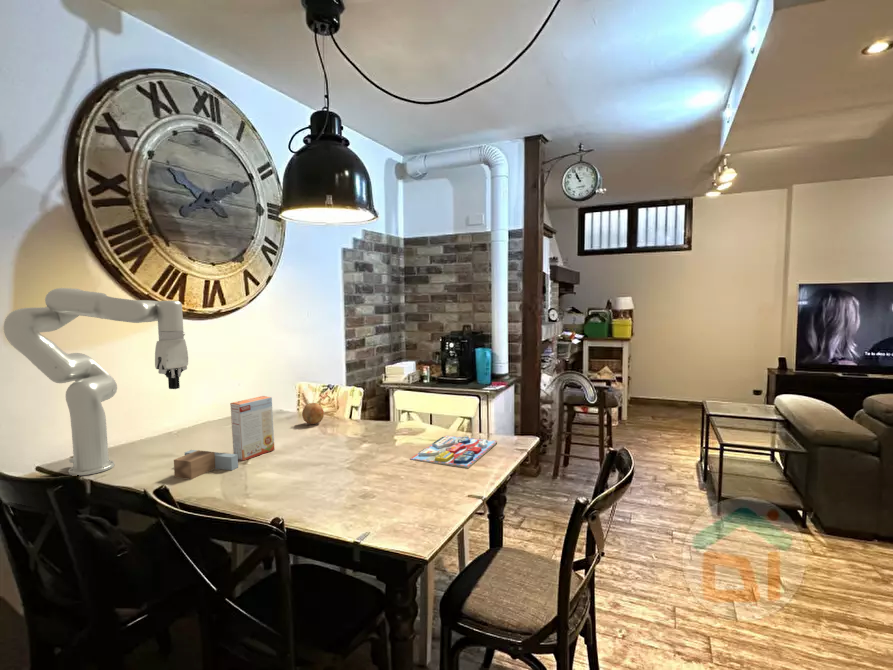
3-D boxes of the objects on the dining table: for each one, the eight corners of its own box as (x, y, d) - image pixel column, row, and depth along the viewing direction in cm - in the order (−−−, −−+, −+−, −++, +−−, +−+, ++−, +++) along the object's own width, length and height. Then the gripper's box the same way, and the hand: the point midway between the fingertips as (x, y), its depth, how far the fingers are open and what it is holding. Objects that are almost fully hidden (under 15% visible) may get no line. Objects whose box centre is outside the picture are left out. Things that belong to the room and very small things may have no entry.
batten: (185, 464, 165) (184, 452, 164) (192, 462, 167) (191, 449, 167) (231, 470, 159) (231, 457, 158) (238, 467, 162) (237, 454, 161)
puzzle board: (445, 438, 195) (445, 432, 195) (497, 444, 185) (497, 438, 185) (409, 461, 167) (408, 454, 167) (468, 470, 158) (468, 462, 157)
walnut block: (174, 477, 153) (173, 459, 153) (199, 467, 163) (198, 450, 162) (191, 479, 151) (190, 461, 151) (215, 469, 161) (214, 452, 160)
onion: (326, 421, 223) (325, 400, 222) (321, 426, 213) (321, 404, 213) (305, 421, 223) (304, 400, 222) (300, 427, 213) (299, 405, 212)
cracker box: (265, 448, 183) (262, 395, 181) (275, 450, 180) (273, 396, 178) (232, 458, 171) (229, 402, 169) (242, 461, 168) (239, 403, 166)
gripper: (180, 334, 170) (183, 384, 172) (143, 337, 156) (146, 392, 157) (197, 334, 168) (199, 385, 169) (160, 338, 154) (164, 393, 155)
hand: (174, 388), depth 163 cm, fingers closed
